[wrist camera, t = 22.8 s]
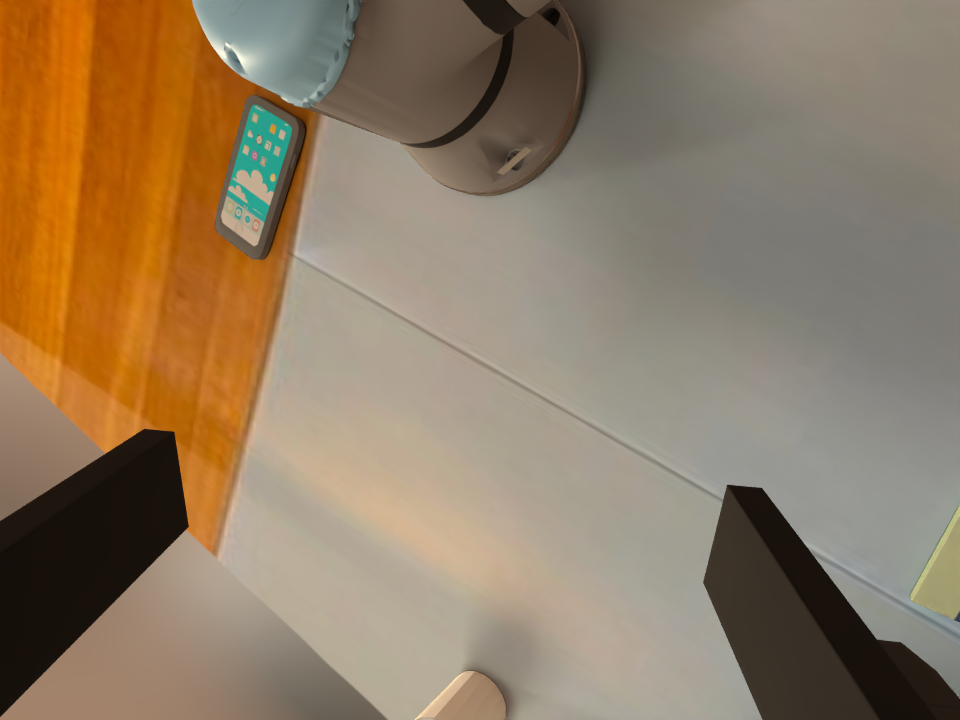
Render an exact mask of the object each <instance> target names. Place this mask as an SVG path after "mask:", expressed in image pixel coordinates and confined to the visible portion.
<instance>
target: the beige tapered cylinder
mask: <svg viewBox="0 0 960 720" xmlns="http://www.w3.org/2000/svg"><path fill="white" fill-rule="evenodd" d="M505 717H506V705H505V702H504V699H503V695H502V694H501V692H500V691H499V689H498V688H497V686H496V685H495V683H493V682H492V681H491V680H490V679H489V678H488V677H486V676H485V675H483V674H480V673H478V672H476V671H465V672H463V673H462V674H460V675H458V676H457V677H456V678H455V679H454V680H453V681H452V682H451V683H450V684H449V685H448V686H447V687H446V688H445V689H444V690H443V691H442V692H441V694H440V695H439V696H438V697H437V698H436V699H435V700H434V701H433V702H432V703H431V704H430V705H429V706H428V707H427V708H426V709H425V710H424V711H423V712H422V713H421V714H420V715H419V716H418V717H417V718H416V719H415V720H504V719H505Z"/></svg>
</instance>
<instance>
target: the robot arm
mask: <svg viewBox="0 0 960 720" xmlns="http://www.w3.org/2000/svg"><path fill="white" fill-rule="evenodd" d="M192 2H193V6H194V9H195V12H196V14H197V17H198V19H199V22H200V24H201V26H202V29H203V31H204V33H205V35H206V36H207V38H208V40H209V42H210V43H211V45H212V46H213V48H214V49H215V51H216V52H217V53H218V55H219V56H220V57H221V58H222V59H223V61H224V62H225V63H226V64H227V65H228V66H229V67H230V68H231V69H233V70H234V71H235V72H237V73H238V74H239V75H241V76H242V77H244V78H245V79H247V80H249V81H251V82H253V83H255V84H257V85H259V86H261V87H263V88H266V89H268V90H270V91H272V92H274V93H276V94H278V95H279V96H280V97H281V98H282V99H283V100H285V101H286V102H288V103H292V104H293V105H295V106H299V107H303V108H306V109H309V110H312V111H314V112H317V113H320V114H323V115H326V116H328V117H331V118H334V119H337V120H339V121H342V122H345V123H348V124H350V125H353V126H356V127H359V128H361V129H364V130H367V131H370V132H372V133H375V134H378V135H381V136H383V137H386V138H389V139H392V140H394V141H397V142H400V143H401V144H402V145H403V147H404V148H405V149H406V150H407V151H408V152H409V154H410V155H411V156H412V157H413V158H414V160H415V161H416V162H417V163H418V164H419V165H420V166H421V168H422V169H423V170H424V171H425V172H426V173H428V174H429V175H430V176H431V177H432V178H433V179H435V180H436V181H437V182H439V183H441V184H442V185H444V186H446V187H449V188H451V189H454V190H457V191H460V192H463V193H467V194H471V195H476V196H493V195H499V194H503V193H507V192H510V191H513V190H515V189H518V188H520V187H522V186H523V185H525V184H527V183H529V182H530V181H532V180H533V179H535V178H536V177H537V176H538V175H540V174H541V173H542V172H543V171H544V170H545V169H546V168H547V167H548V166H549V165H550V164H551V163H552V162H553V161H554V160H555V159H556V157H557V156H558V155H559V153H560V152H561V151H562V149H563V148H564V146H565V145H566V143H567V141H568V140H569V138H570V136H571V134H572V132H573V130H574V128H575V125H576V123H577V120H578V118H579V115H580V111H581V108H582V104H583V99H584V94H585V87H586V62H585V54H584V49H583V45H582V42H581V39H580V36H579V33H578V31H577V29H576V27H575V25H574V23H573V21H572V20H571V18H570V16H569V15H568V14H567V12H566V11H565V9H564V8H563V7H562V5H561V4H560V3H559V2H558V0H192ZM188 527H189V525H188V519H187V512H186V505H185V499H184V492H183V486H182V479H181V473H180V466H179V460H178V453H177V447H176V440H175V434H174V432H170V431H160V430H150V429H144V430H142V431H140V432H139V433H137V434H136V435H134V436H133V437H131V438H130V439H128V440H126V441H125V442H123V443H122V444H120V445H119V446H117V447H115V448H114V449H112V450H111V451H109V452H108V453H106V454H105V455H103V456H101V457H100V458H99V459H97V460H95V461H94V462H92V463H90V464H89V465H87V466H86V467H84V468H83V469H81V470H80V471H78V472H76V473H75V474H73V475H72V476H70V477H69V478H67V479H65V480H64V481H62V482H61V483H59V484H58V485H56V486H55V487H53V488H51V489H50V490H48V491H47V492H45V493H44V494H42V495H41V496H39V497H37V498H36V499H34V500H33V501H31V502H29V503H28V504H26V505H25V506H23V507H22V508H20V509H19V510H17V511H15V512H14V513H12V514H11V515H10V516H8V517H6V518H4V519H3V520H1V521H0V717H1V715H3V714H4V713H5V712H6V711H7V710H8V708H9V707H11V706H12V705H13V704H14V703H15V701H16V700H17V699H18V698H19V697H20V696H21V695H22V694H23V693H24V692H25V691H26V690H27V689H28V688H29V687H30V686H31V685H32V684H33V683H34V682H35V681H36V680H37V679H38V678H39V677H40V676H41V675H42V674H43V673H44V672H45V671H46V670H47V669H48V668H49V667H50V666H51V665H52V664H53V663H54V662H55V661H56V660H57V659H58V658H59V657H60V656H61V655H62V654H63V653H64V652H65V651H66V650H67V649H68V648H69V647H70V646H71V645H72V644H73V643H74V642H75V641H76V640H77V639H78V638H79V637H80V636H81V635H82V634H83V633H84V632H85V631H86V630H87V629H88V628H89V627H90V626H91V625H92V624H93V623H94V622H95V621H96V620H97V619H98V618H99V617H100V616H101V615H102V614H103V613H104V612H105V611H106V610H107V609H108V608H109V607H110V606H111V605H112V604H113V603H114V602H115V600H116V599H117V598H119V597H120V595H121V594H122V593H124V591H126V589H127V588H128V587H129V586H130V585H131V584H132V583H133V582H134V581H135V580H136V579H137V578H138V577H139V576H140V575H141V574H142V573H143V572H144V571H145V570H146V569H147V568H148V567H149V566H150V565H151V564H152V563H153V562H154V561H155V560H156V559H157V558H158V557H159V556H160V555H161V554H162V553H163V552H164V551H165V550H166V549H167V548H168V547H169V546H170V545H171V544H172V543H173V542H174V541H175V540H176V539H177V538H178V537H179V536H180V535H181V534H182V533H183V532H184V531H185V530H186V529H187V528H188ZM703 583H704V585H705V588H706V590H707V592H708V594H709V597H710V599H711V601H712V604H713V606H714V608H715V611H716V613H717V615H718V618H719V620H720V622H721V625H722V627H723V629H724V631H725V634H726V636H727V638H728V641H729V643H730V645H731V648H732V650H733V652H734V655H735V657H736V659H737V662H738V664H739V666H740V668H741V671H742V673H743V675H744V678H745V680H746V682H747V685H748V687H749V689H750V692H751V694H752V696H753V699H754V701H755V703H756V705H757V708H758V710H759V712H760V715H761V717H762V719H763V720H960V699H959V698H958V696H957V695H956V694H955V693H954V692H953V690H952V689H951V688H950V687H949V686H948V684H947V683H946V682H945V681H944V680H943V678H942V677H941V676H940V675H939V674H938V672H937V671H936V670H934V669H933V668H932V667H931V666H929V665H928V664H927V663H926V662H924V661H923V660H922V659H921V658H920V657H918V656H917V655H916V654H915V653H913V652H912V651H911V650H910V649H908V648H907V647H906V646H905V645H903V644H902V643H901V642H892V641H883V640H877V639H876V638H875V637H874V635H873V634H872V633H871V631H870V630H869V629H868V627H867V626H866V625H865V623H864V622H863V621H862V619H861V618H860V617H859V615H858V614H857V613H856V611H855V610H854V609H853V607H852V606H851V605H850V604H849V602H848V601H847V600H846V598H845V597H844V596H843V594H842V593H841V592H840V590H839V589H838V588H837V586H836V585H835V584H834V582H833V581H832V580H831V578H830V577H829V576H828V574H827V573H826V572H825V571H824V569H823V568H822V567H821V565H820V564H819V563H818V561H817V560H816V559H815V557H814V556H813V555H812V553H811V552H810V551H809V549H808V548H807V547H806V545H805V544H804V543H803V542H802V540H801V539H800V538H799V536H798V535H797V534H796V532H795V531H794V530H793V528H792V527H791V526H790V524H789V523H788V522H787V520H786V519H785V518H784V516H783V515H782V514H781V512H780V511H779V510H778V509H777V507H776V506H775V505H774V503H773V502H772V501H771V499H770V498H769V497H768V495H767V494H766V493H765V491H764V490H763V489H762V488H755V487H745V486H735V485H727V488H726V492H725V496H724V500H723V504H722V508H721V512H720V516H719V520H718V524H717V529H716V533H715V537H714V541H713V545H712V549H711V553H710V557H709V561H708V565H707V569H706V574H705V578H704V582H703Z"/></svg>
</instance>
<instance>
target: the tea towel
mask: <svg viewBox="0 0 960 720" xmlns="http://www.w3.org/2000/svg"><path fill="white" fill-rule="evenodd" d="M910 598H911V600H912V601H913V602H915V603H917V604H920V605H922V606H924V607H927V608H929V609H931V610H933V611H936V612H938V613H940V614H943V615H945V616H947V617H950V618H952V619H954V620H956V621H958V622H960V505H959V507H958V509H957V511H956V513H955V514H954V516H953V518H952V520H951V522H950V524H949V525H948V527H947V529H946V531H945V533H944V535H943V536H942V538H941V540H940V542H939V544H938V545H937V547H936V549H935V551H934V553H933V555H932V556H931V558H930V560H929V562H928V564H927V566H926V567H925V569H924V571H923V573H922V575H921V577H920V578H919V580H918V582H917V584H916V586H915V588H914V589H913V591H912V593H911V595H910Z"/></svg>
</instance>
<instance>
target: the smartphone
mask: <svg viewBox="0 0 960 720" xmlns="http://www.w3.org/2000/svg"><path fill="white" fill-rule="evenodd" d="M304 134H305V128H304V124H303V122H302V121H301V120H300V119H298V118H297V117H295V116H293V115H291V114H290V113H288V112H286V111H285V110H283V109H281V108H279V107H278V106H276V105H274V104H273V103H271V102H269V101H267V100H266V99H264V98H262V97H260V96H257V95H251V96H250V97H248V98H247V100H246V102H245V106H244V109H243V113H242V117H241V121H240V125H239V128H238V132H237V136H236V140H235V144H234V147H233V151H232V155H231V159H230V162H229V166H228V170H227V174H226V178H225V181H224V185H223V189H222V193H221V197H220V201H219V205H218V209H217V214H216V219H215V228H216V231H217V233H218V234H220V235H221V236H222V237H224V238H225V239H226V240H228V241H229V242H230V243H232V244H233V245H234V246H236V247H237V248H238V249H240V250H241V251H242V252H244V253H245V254H246V255H248V256H249V257H250V258H252V259H257V260H262V259H265V258H266V256H267V254H268V252H269V249H270V246H271V243H272V240H273V236H274V233H275V230H276V227H277V224H278V220H279V217H280V214H281V211H282V208H283V204H284V201H285V198H286V195H287V191H288V188H289V185H290V182H291V179H292V175H293V172H294V169H295V166H296V162H297V159H298V156H299V153H300V150H301V146H302V143H303V139H304Z"/></svg>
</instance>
